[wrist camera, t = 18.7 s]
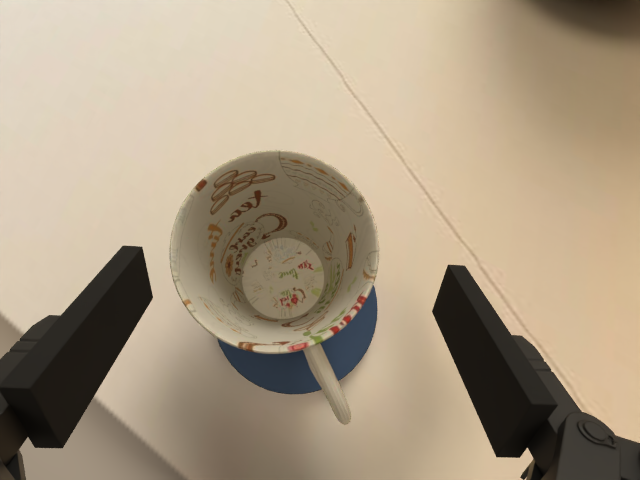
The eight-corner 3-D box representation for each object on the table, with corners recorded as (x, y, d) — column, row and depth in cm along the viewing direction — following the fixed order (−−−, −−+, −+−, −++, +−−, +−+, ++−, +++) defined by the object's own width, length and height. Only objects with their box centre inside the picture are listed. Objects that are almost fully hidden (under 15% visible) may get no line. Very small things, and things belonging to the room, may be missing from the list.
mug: (311, 201, 25) (323, 121, 15) (395, 365, 22) (474, 395, 13) (201, 249, 23) (136, 195, 14) (279, 430, 21) (268, 520, 11)
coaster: (228, 410, 22) (226, 414, 21) (204, 245, 24) (201, 242, 23) (392, 369, 23) (395, 371, 22) (354, 217, 25) (356, 214, 25)
